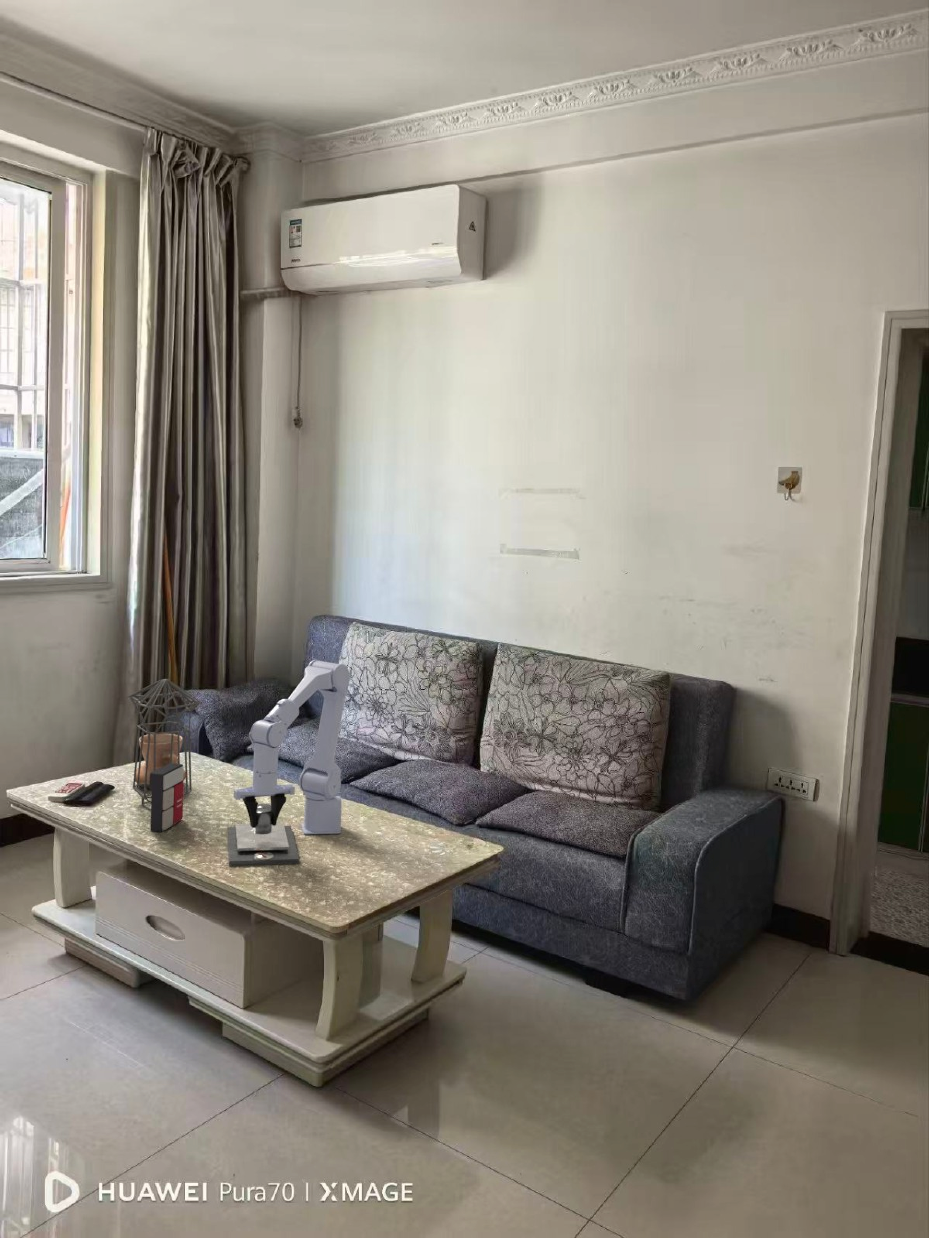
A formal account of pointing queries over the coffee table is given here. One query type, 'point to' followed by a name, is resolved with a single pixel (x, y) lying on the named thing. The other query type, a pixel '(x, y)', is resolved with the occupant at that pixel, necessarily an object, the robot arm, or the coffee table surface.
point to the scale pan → (261, 838)
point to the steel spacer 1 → (264, 806)
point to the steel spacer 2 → (263, 821)
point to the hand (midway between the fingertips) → (263, 825)
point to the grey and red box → (166, 796)
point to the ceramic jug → (158, 754)
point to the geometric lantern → (159, 685)
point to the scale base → (261, 852)
